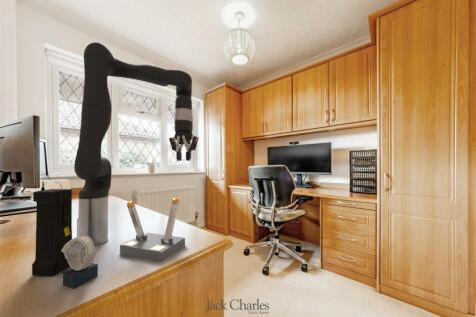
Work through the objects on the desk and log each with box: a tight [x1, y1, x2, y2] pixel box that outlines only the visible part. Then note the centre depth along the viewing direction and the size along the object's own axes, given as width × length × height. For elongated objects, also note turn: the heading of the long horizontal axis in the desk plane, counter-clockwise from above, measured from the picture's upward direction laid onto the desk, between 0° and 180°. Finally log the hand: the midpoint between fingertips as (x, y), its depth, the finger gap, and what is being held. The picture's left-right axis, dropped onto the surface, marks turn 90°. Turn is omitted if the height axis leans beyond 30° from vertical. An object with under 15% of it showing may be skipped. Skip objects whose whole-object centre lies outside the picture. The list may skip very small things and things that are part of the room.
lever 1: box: [126, 200, 145, 239], centre depth 66 cm, size 2×2×14 cm
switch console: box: [119, 232, 186, 263], centre depth 66 cm, size 17×12×4 cm
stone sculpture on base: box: [61, 236, 99, 289], centre depth 49 cm, size 6×8×11 cm
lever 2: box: [163, 197, 180, 242], centre depth 67 cm, size 2×2×14 cm
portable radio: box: [31, 181, 73, 278], centre depth 54 cm, size 8×6×25 cm
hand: (183, 160), depth 82 cm, fingers open, 3 cm apart
